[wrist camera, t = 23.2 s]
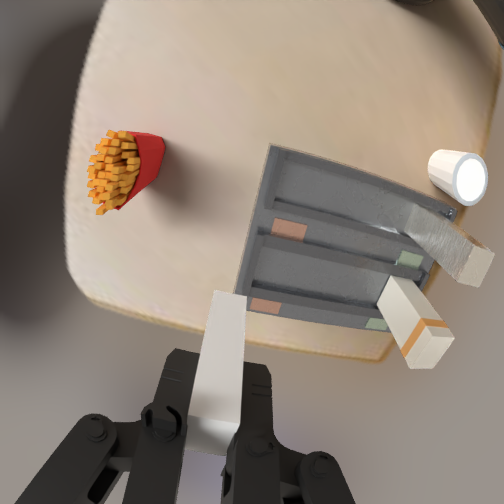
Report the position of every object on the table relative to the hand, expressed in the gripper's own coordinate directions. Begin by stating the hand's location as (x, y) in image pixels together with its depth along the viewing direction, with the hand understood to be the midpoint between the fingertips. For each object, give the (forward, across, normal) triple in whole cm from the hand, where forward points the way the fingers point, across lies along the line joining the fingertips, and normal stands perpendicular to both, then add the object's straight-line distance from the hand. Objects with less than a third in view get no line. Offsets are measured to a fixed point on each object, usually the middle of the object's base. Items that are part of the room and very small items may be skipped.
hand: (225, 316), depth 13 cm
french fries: (+25, -13, +2) cm, 28 cm away
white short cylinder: (+25, +26, +11) cm, 37 cm away
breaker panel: (+24, +15, -4) cm, 29 cm away
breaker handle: (+21, +24, -8) cm, 33 cm away
